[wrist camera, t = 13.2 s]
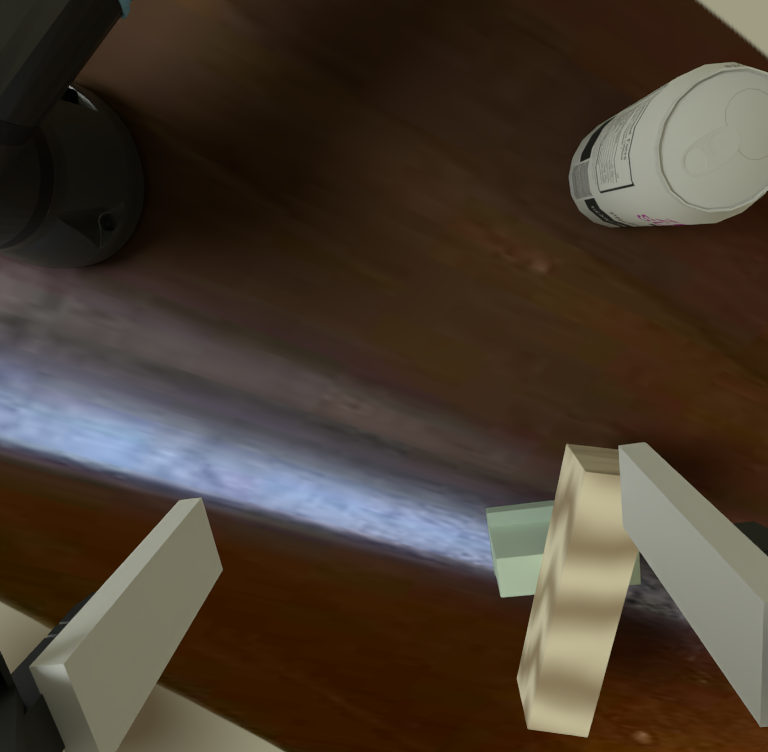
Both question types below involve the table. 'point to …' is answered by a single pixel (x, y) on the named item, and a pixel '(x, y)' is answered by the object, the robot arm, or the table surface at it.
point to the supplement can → (679, 152)
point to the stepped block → (523, 546)
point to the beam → (577, 595)
